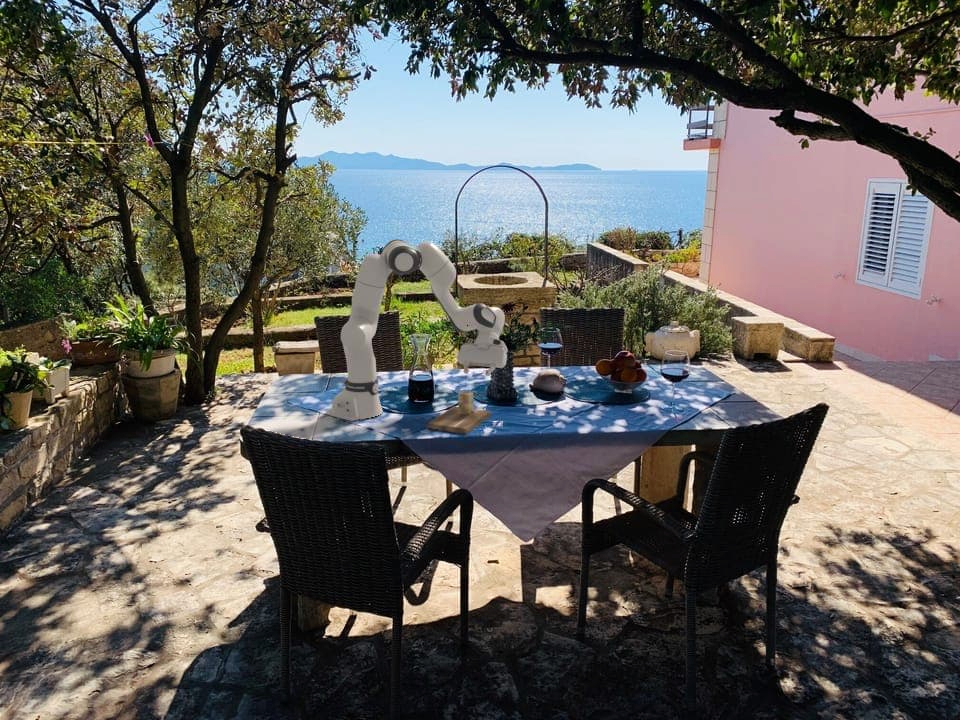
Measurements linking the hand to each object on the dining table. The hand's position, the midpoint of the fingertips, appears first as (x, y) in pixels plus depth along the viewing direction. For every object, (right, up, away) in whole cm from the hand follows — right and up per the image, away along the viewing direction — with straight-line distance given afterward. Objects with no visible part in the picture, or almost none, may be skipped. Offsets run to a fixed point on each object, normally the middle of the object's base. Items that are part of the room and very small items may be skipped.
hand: (476, 374), depth 270 cm
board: (-6, -18, -10) cm, 21 cm away
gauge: (-4, -15, -6) cm, 16 cm away
